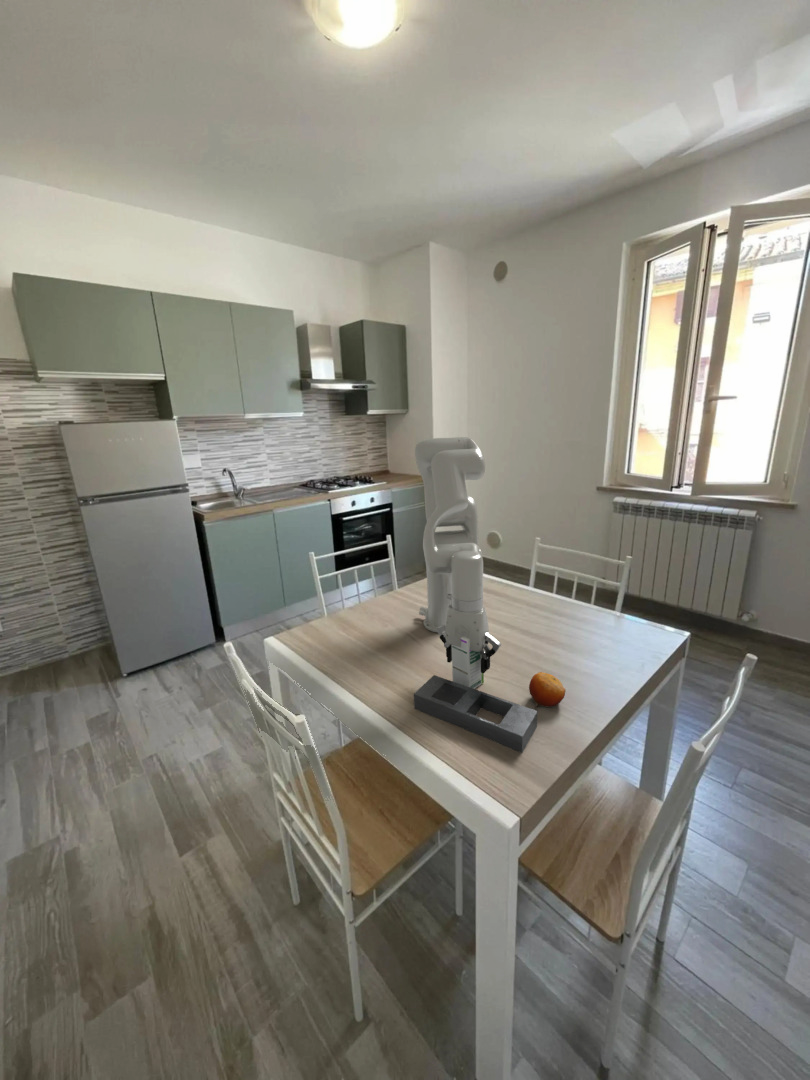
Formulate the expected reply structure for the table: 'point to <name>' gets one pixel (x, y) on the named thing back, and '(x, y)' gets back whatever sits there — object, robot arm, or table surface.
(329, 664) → the table surface
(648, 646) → the table surface
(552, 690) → the fruit
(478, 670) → the syrup box
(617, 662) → the table surface
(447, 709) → the grey slotted holder
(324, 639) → the table surface
